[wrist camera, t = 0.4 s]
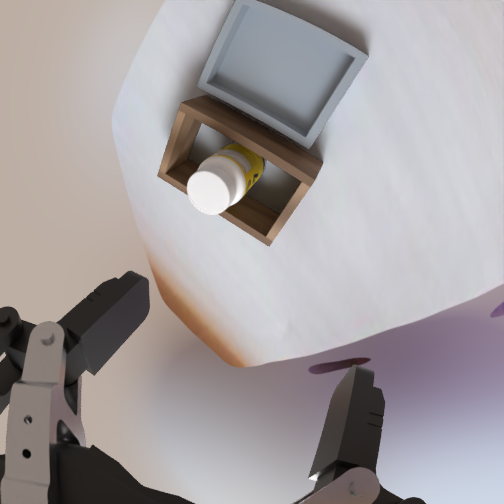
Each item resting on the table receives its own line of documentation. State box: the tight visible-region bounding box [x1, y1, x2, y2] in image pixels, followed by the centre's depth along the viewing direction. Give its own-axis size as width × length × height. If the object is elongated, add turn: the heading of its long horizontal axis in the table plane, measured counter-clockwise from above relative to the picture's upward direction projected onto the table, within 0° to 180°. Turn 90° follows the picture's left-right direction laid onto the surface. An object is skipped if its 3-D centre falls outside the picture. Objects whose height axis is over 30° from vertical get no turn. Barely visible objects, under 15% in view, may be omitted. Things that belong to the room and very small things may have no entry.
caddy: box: [157, 95, 323, 246], centre depth 29 cm, size 9×14×4 cm, turn 64°
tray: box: [197, 0, 369, 149], centre depth 23 cm, size 10×12×2 cm
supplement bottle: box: [187, 141, 266, 215], centre depth 28 cm, size 5×5×8 cm
